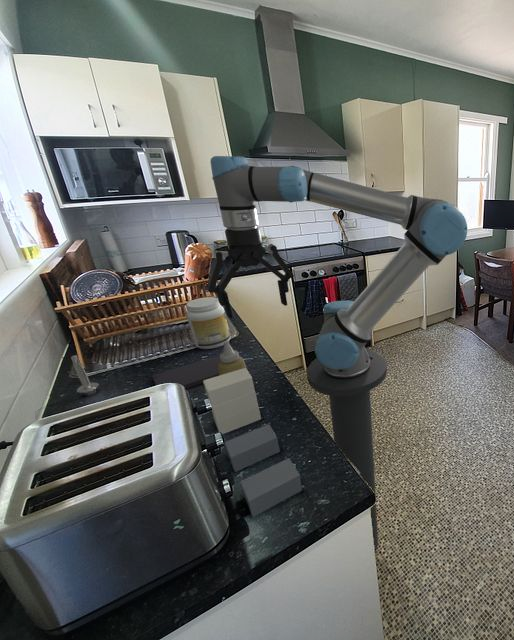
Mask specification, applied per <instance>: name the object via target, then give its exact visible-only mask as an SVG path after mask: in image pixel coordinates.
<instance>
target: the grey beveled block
mask: <svg viewBox="0 0 514 640" xmlns="http://www.w3.org/2000/svg"><path fill="white" fill-rule="evenodd" d="M240 485H241V489H242V493H243V496H244V500H245V501H246V504H247V506H248V510H249V512H250V514H251V517H252V518H255V517H256V516H258V515H259V514H261V513H263V512H265V511H267V510H269V509H271V508H273V507H274V506H276V505H278V504H280V503H281V502H283V501H285V500H288V499H289V498H292V496H294V495H296V494H298V493H300V492H303V486H302V481H301V475H300V473H299V471H298V469H297V468H296V467H295V465H294V463H293V461H292V460H291V458H290V457H288V458H286V459H284V460H282V461H280V462H277V463H276V464H273V465H271V466H269V467H267V468H265V469H263V470H261V471H259V472H257V473H255V474H252V475H250V476H249V477H247V478H244V479H242V480H240Z"/></svg>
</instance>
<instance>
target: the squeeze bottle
mask: <svg viewBox="0 0 514 640" xmlns="http://www.w3.org/2000/svg"><path fill="white" fill-rule="evenodd" d="M219 355H220V360H221V361H220V362H219V363H218V370H219V376H220V375H223V374H227V373H230V372H233V371H237V370H240V369H243V368H246V369H247V371H248V368H247V365H246V362H245V359H244V358H243V357H242V356H240V354H239V351H238V350H236V349H233V347H232V345H231V344H230V341H229V342H224V345H223V351H222V352H221V354H219ZM248 372H249V371H248Z"/></svg>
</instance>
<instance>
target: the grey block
mask: <svg viewBox="0 0 514 640" xmlns="http://www.w3.org/2000/svg"><path fill="white" fill-rule="evenodd" d="M224 445H225V449H226V453H227V456H228V459H229V462H230V464H231V466H232V469H233V471H234V473H237V472H239V471H242V470H244V469H245V468H248V467H250V466H252V465H254V464H257V463H259V462H261V461H262V460H265V459H267V458H270V457H271V456H274V455H276V454H278V453H280V452H281V450H280V446H279V440H278V436H277V435H276V433H275V431H274V429H273V428H272V426H271V425H270V424H269V423H268V424H266V425H263V426H261V427H258V428H255V429H253V430H251V431H248V432H246V433H244V434H241V435H239V436H236V437H234V438H231V439H229V440H226V441H224Z"/></svg>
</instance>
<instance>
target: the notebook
mask: <svg viewBox="0 0 514 640" xmlns="http://www.w3.org/2000/svg"><path fill="white" fill-rule="evenodd" d="M220 361H221V360H220V354H219V355H217V356H213V357H210V358H209V357H208V358H206V359H203V360H199V361H195V362H193V363H189V364H186V365H183V366H182V365H181V366H179V367H175V368H172V369H169V370H165V371H162V372H159V373H155V374H153V375H152V379H153V382H154V384H155V386H156V385H158V384H163V383H169V382H171V383H179V384H182V385H183V386H184V387H185V388H186V389H185V390H187V389H190V388H193V387H196V386H200V385H202V384H204V382H203V380H207V379H210V378H213V377H217V376H219V370H218V363H219V362H220Z"/></svg>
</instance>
